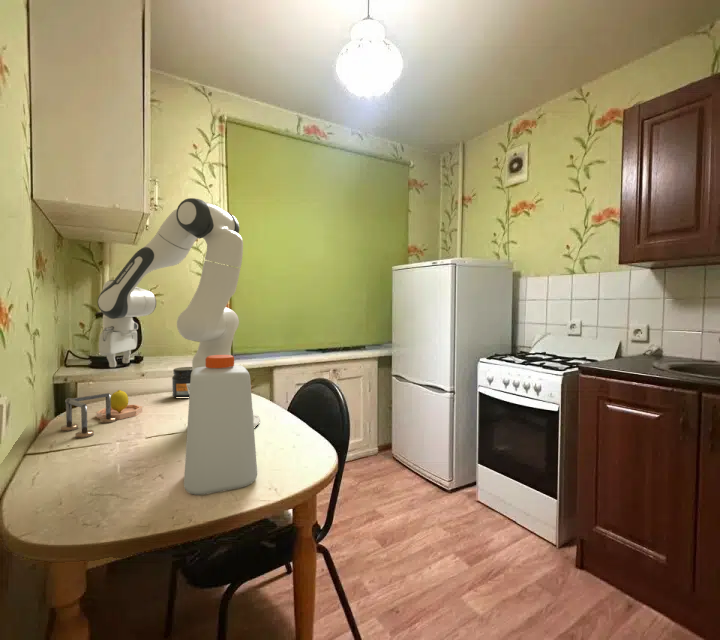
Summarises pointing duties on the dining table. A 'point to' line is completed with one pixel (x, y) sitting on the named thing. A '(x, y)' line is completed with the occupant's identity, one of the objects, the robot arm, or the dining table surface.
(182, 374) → the supplement container
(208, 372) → the plastic bottle
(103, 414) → the terracotta dish
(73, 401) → the metal pipe stand
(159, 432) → the dining table surface
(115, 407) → the lemon
